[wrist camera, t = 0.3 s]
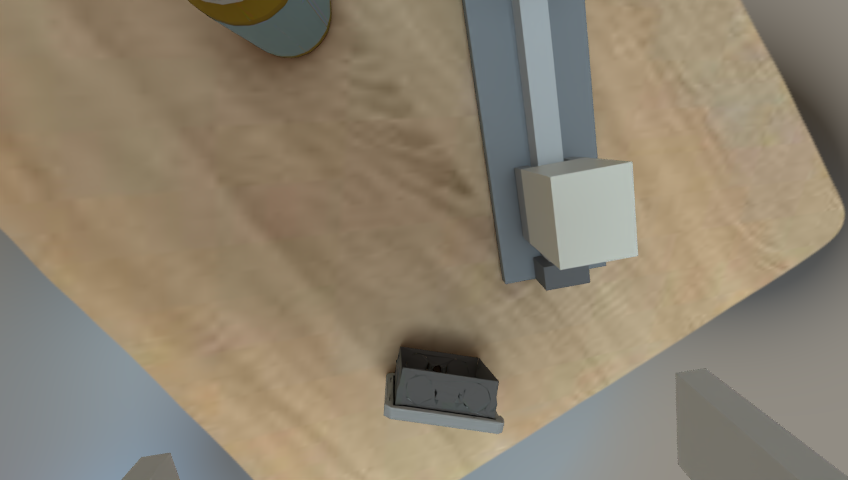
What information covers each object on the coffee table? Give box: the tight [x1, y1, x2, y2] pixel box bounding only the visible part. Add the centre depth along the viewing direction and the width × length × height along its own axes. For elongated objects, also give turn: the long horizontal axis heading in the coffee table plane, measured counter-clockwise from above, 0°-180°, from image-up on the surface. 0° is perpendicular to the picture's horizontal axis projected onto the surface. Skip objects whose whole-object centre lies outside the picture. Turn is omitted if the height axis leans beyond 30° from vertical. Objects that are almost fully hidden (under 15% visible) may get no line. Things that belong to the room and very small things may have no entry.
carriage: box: [515, 157, 638, 270], centre depth 30 cm, size 6×5×9 cm
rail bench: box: [462, 0, 606, 291], centre depth 29 cm, size 32×9×10 cm, turn 10°
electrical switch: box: [384, 346, 504, 434], centre depth 35 cm, size 9×5×9 cm, turn 80°
